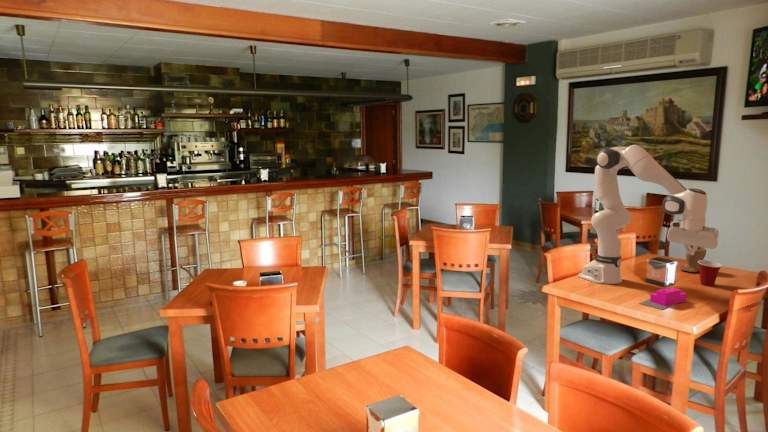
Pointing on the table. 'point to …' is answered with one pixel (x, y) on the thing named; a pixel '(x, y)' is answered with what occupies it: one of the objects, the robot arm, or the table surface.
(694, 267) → the stone cup
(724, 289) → the table surface
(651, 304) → the rubber mat
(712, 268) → the plastic cup
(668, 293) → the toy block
